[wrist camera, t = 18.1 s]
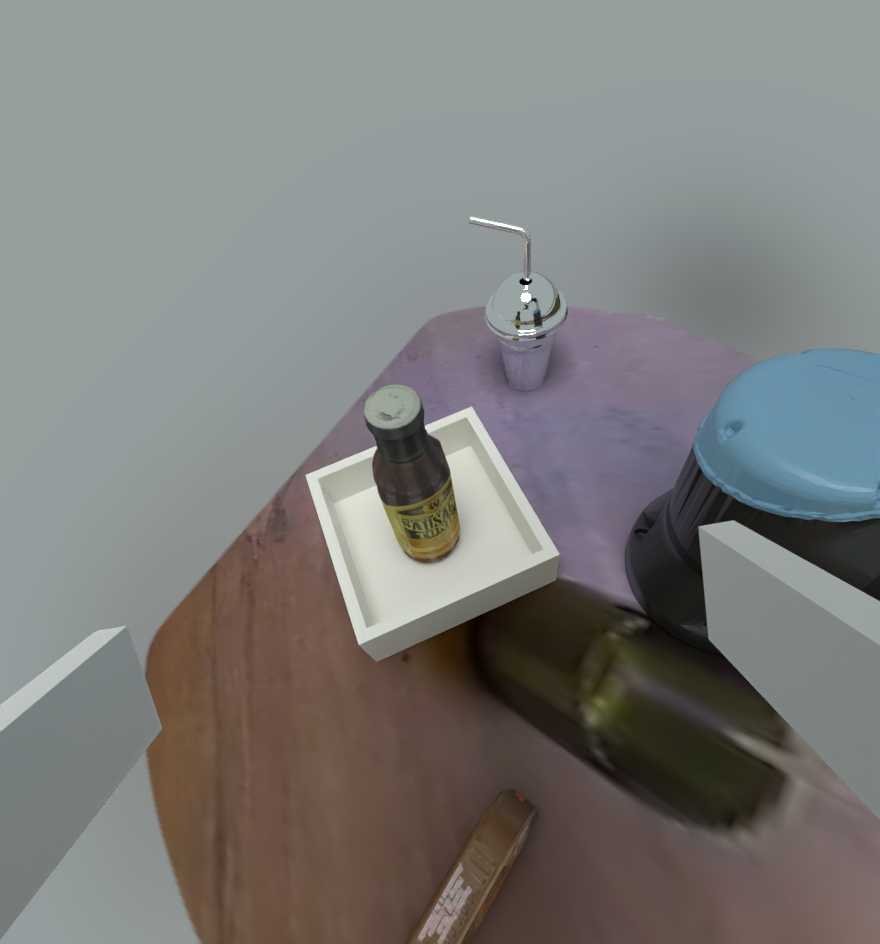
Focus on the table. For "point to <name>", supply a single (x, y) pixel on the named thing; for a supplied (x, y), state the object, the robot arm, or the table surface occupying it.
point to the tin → (477, 872)
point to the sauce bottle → (412, 475)
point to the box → (442, 582)
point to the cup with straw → (524, 316)
